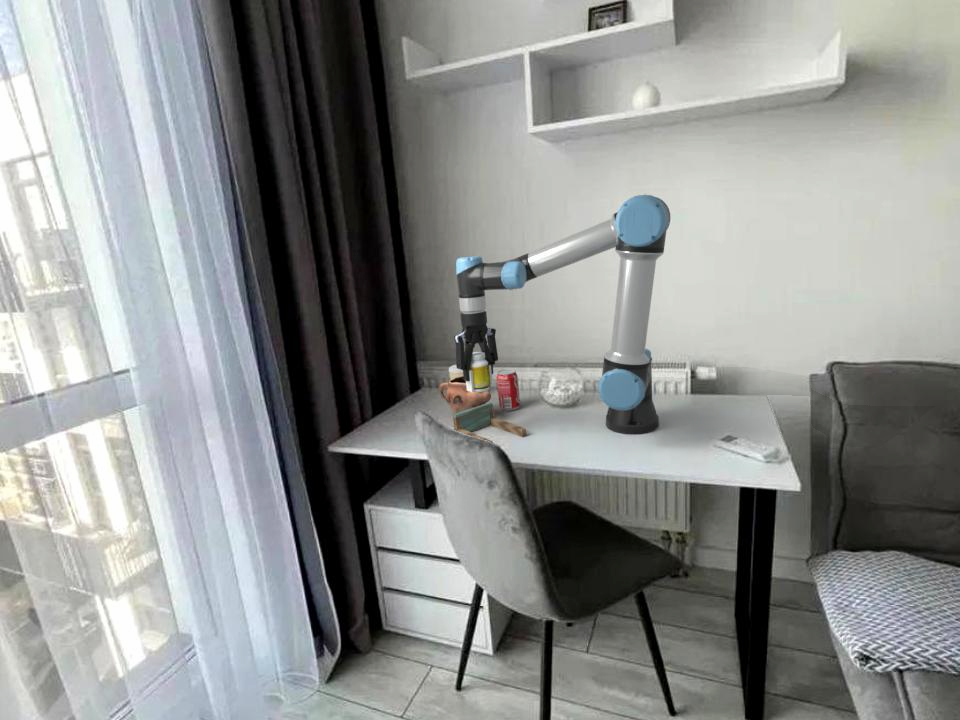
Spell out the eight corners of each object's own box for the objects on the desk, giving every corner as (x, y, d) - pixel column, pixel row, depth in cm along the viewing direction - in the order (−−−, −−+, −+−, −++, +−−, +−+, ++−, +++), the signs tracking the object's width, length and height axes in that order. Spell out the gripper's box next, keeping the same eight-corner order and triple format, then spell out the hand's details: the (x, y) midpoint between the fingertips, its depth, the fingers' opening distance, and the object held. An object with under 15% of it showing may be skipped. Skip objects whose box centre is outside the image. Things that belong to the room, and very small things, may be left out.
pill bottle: (493, 390, 162) (490, 353, 159) (473, 394, 160) (469, 357, 158) (486, 385, 168) (483, 350, 165) (467, 388, 166) (463, 353, 164)
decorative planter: (430, 422, 181) (426, 382, 178) (449, 410, 192) (445, 372, 188) (485, 428, 172) (481, 385, 169) (501, 415, 182) (498, 374, 179)
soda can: (520, 410, 185) (518, 373, 182) (499, 412, 185) (496, 375, 182) (519, 404, 192) (517, 367, 189) (499, 405, 192) (496, 369, 189)
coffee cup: (476, 392, 210) (473, 362, 207) (477, 400, 200) (474, 368, 198) (451, 395, 209) (448, 364, 207) (451, 402, 200) (448, 370, 197)
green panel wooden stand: (526, 435, 162) (524, 413, 161) (488, 449, 154) (486, 427, 153) (491, 422, 176) (489, 402, 174) (454, 435, 168) (452, 414, 166)
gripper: (491, 305, 167) (497, 379, 172) (438, 315, 156) (446, 393, 162) (507, 307, 161) (512, 383, 167) (453, 317, 150) (460, 398, 156)
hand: (479, 388), depth 164 cm, fingers closed on pill bottle, 6 cm apart
